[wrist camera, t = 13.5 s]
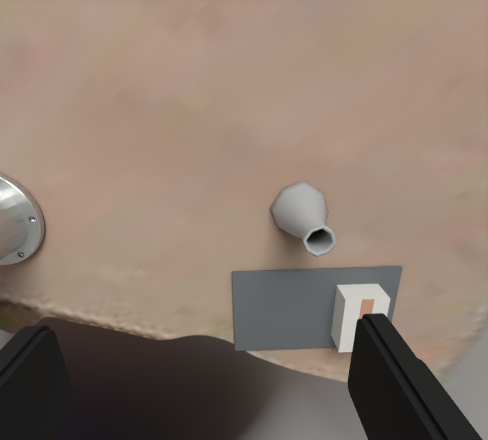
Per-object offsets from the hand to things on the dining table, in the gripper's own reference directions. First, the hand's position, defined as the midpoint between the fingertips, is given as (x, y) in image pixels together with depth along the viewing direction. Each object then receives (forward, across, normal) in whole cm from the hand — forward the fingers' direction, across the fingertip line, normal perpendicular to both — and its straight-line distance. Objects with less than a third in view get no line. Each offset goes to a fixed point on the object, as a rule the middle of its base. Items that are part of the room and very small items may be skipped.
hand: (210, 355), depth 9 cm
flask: (+29, -9, +5) cm, 30 cm away
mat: (+28, -12, +21) cm, 37 cm away
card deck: (+28, -18, +21) cm, 39 cm away
